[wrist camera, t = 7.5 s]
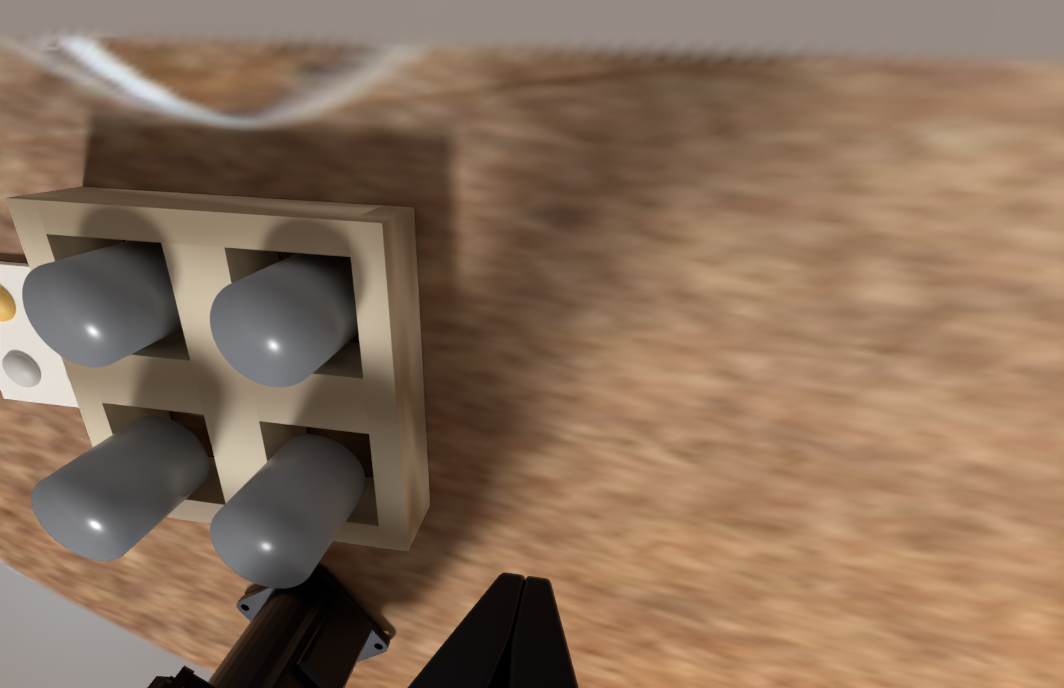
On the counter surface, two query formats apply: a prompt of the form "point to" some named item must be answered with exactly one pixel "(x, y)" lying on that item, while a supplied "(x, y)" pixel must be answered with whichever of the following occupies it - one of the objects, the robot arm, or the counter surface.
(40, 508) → the button
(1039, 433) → the counter surface
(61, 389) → the pattern tile
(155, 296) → the button
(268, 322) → the button
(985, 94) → the counter surface
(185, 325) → the button board
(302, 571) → the button
